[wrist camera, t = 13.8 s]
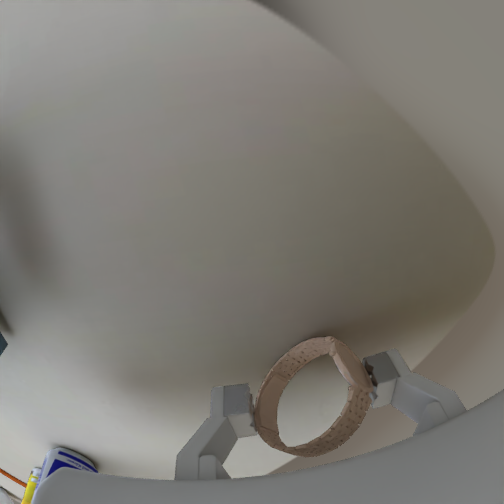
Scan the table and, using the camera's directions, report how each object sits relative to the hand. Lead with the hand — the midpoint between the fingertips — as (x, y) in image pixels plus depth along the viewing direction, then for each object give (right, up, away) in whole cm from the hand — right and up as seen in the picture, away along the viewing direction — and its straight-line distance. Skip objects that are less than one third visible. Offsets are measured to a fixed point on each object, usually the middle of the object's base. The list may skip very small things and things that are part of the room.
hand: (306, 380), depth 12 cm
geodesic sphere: (-69, -56, +22) cm, 91 cm away
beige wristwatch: (0, +1, +2) cm, 2 cm away
